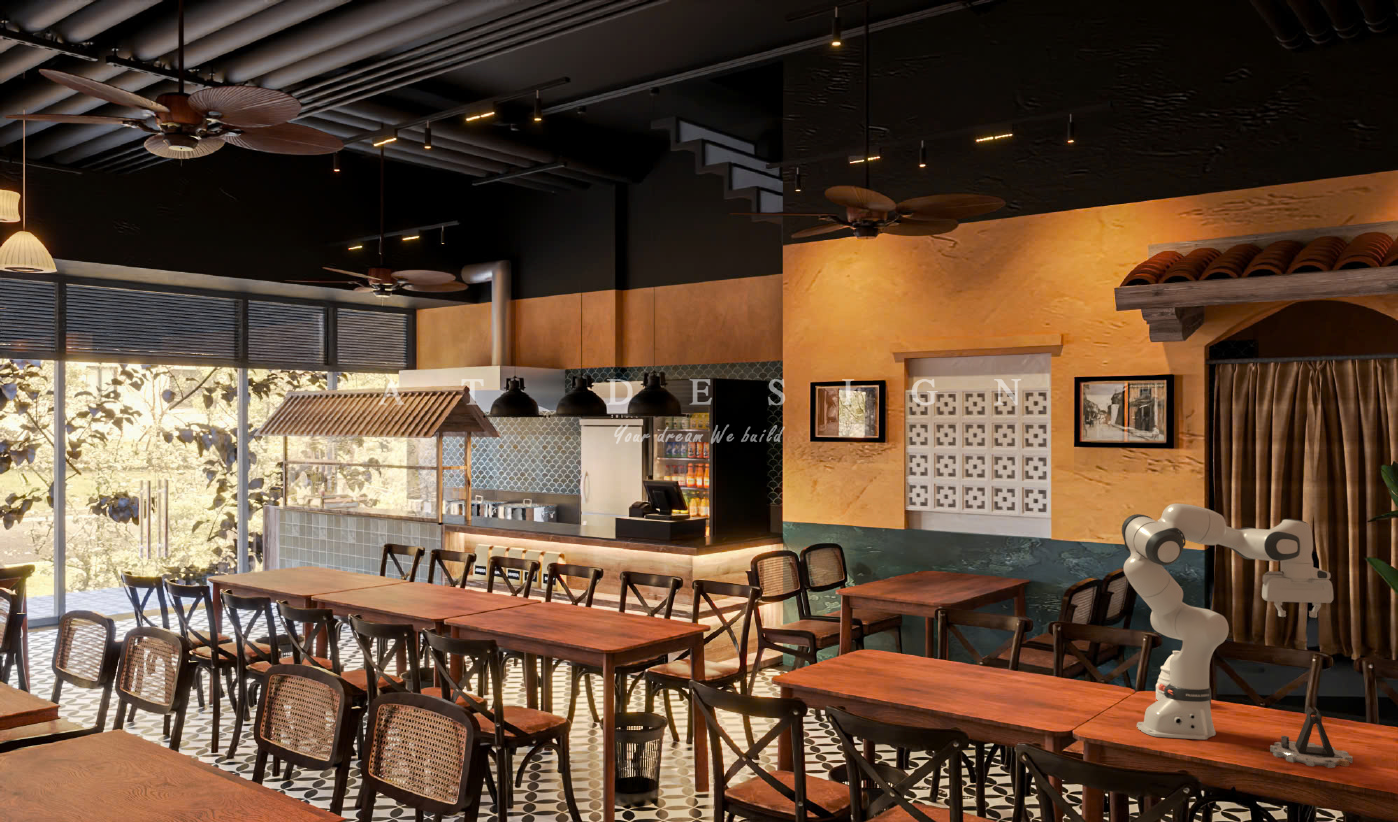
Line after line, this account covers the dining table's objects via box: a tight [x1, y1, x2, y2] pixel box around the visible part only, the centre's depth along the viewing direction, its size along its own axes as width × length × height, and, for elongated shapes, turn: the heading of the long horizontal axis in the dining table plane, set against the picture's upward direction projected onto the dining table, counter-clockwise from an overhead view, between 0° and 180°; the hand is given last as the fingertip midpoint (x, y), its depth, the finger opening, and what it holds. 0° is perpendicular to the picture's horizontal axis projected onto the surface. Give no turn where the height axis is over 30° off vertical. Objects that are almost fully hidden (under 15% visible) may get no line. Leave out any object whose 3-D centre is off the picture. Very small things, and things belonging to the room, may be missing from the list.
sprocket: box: [1269, 735, 1354, 768], centre depth 292 cm, size 20×20×4 cm
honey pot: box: [1155, 650, 1181, 700], centre depth 355 cm, size 13×13×18 cm
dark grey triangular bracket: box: [1295, 706, 1335, 756], centre depth 291 cm, size 9×6×12 cm, turn 67°
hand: (1297, 616), depth 315 cm, fingers open, 8 cm apart
